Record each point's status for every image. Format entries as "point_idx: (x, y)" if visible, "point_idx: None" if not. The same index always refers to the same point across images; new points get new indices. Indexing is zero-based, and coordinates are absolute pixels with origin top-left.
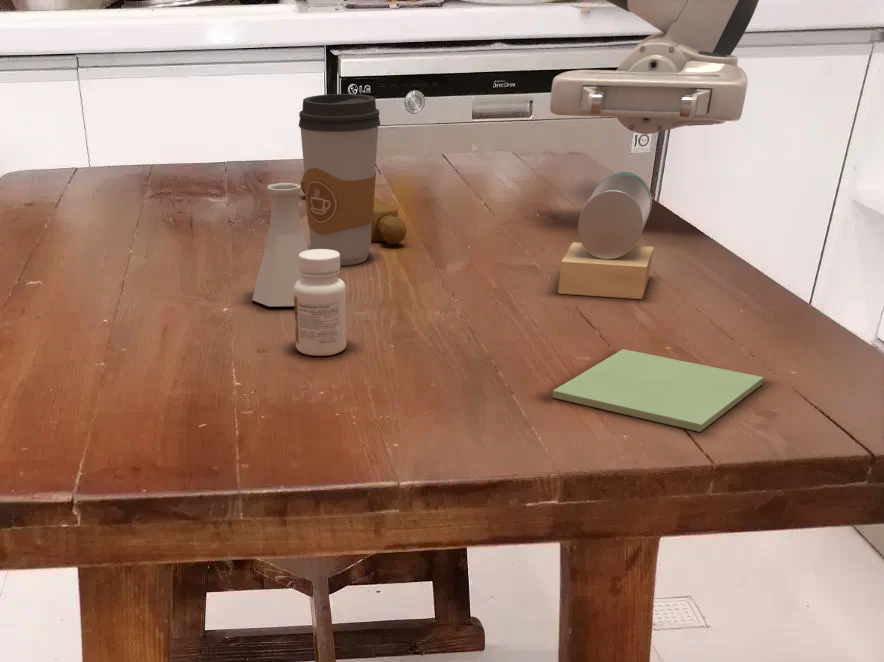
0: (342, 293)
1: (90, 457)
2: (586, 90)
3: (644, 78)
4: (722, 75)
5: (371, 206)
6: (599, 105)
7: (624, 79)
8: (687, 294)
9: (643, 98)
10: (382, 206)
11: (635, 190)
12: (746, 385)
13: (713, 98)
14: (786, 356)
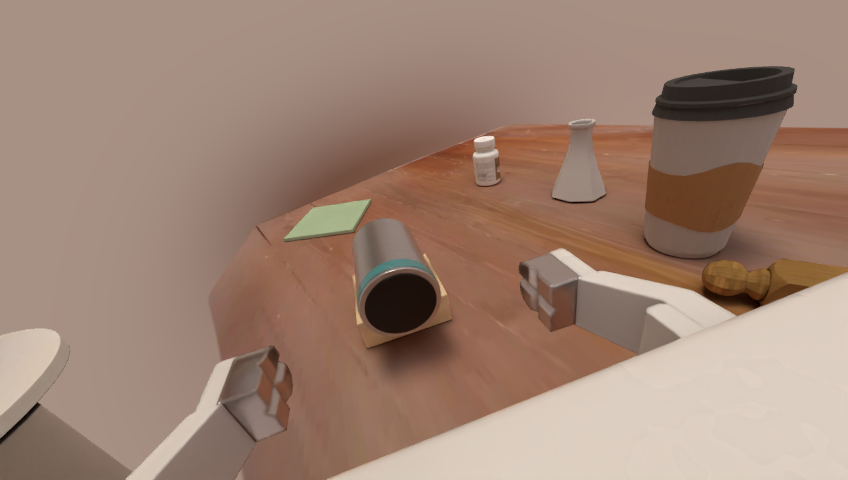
0: (473, 158)
1: (473, 145)
2: (635, 278)
3: (476, 451)
4: None
5: (656, 201)
6: (523, 278)
7: (580, 386)
8: (323, 328)
9: None
10: None
11: (362, 244)
12: (292, 230)
13: None
14: (264, 269)
